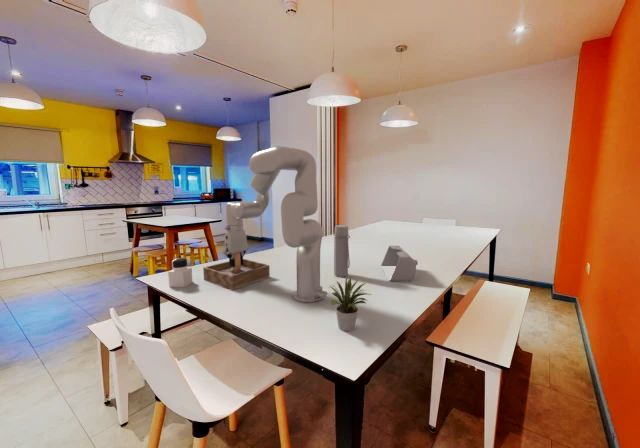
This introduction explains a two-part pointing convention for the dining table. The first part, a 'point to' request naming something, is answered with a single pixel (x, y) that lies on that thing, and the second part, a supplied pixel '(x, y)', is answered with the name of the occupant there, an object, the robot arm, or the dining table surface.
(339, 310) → the house plant
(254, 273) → the open box
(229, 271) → the bore plate
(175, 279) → the medicine bottle
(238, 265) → the peg
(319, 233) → the robot arm
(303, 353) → the dining table surface
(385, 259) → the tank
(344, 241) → the water bottle
